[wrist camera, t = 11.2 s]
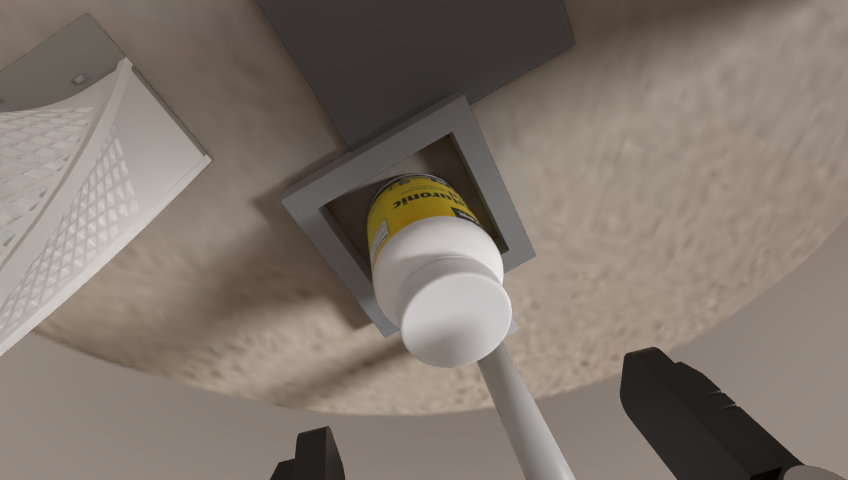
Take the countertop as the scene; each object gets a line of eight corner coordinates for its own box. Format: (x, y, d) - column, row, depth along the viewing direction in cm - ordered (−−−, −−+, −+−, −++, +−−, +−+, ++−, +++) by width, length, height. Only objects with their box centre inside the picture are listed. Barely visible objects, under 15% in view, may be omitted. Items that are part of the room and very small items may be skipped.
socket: (454, 90, 20) (591, 153, 9) (551, 303, 27) (696, 486, 16) (284, 188, 21) (219, 360, 10) (422, 372, 28) (474, 594, 17)
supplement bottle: (475, 183, 23) (558, 273, 14) (443, 268, 25) (499, 392, 16) (379, 158, 21) (405, 240, 12) (354, 250, 23) (361, 377, 14)
